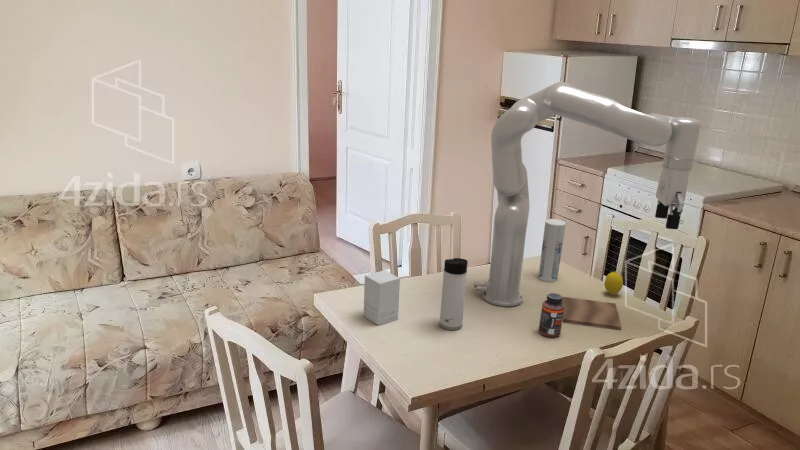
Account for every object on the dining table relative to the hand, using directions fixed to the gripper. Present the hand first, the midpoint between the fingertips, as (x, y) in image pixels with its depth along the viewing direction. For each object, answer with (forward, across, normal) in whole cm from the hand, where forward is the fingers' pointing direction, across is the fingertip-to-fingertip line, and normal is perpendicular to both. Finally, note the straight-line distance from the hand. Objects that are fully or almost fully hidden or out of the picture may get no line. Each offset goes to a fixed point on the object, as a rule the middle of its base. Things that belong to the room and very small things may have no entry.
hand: (666, 223), depth 179 cm
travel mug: (+30, +15, -58) cm, 67 cm away
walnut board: (+30, 0, -17) cm, 34 cm away
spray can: (+30, -26, -26) cm, 47 cm away
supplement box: (+31, +13, -78) cm, 84 cm away
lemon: (+30, -16, -7) cm, 35 cm away
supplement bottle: (+30, +14, -30) cm, 45 cm away
